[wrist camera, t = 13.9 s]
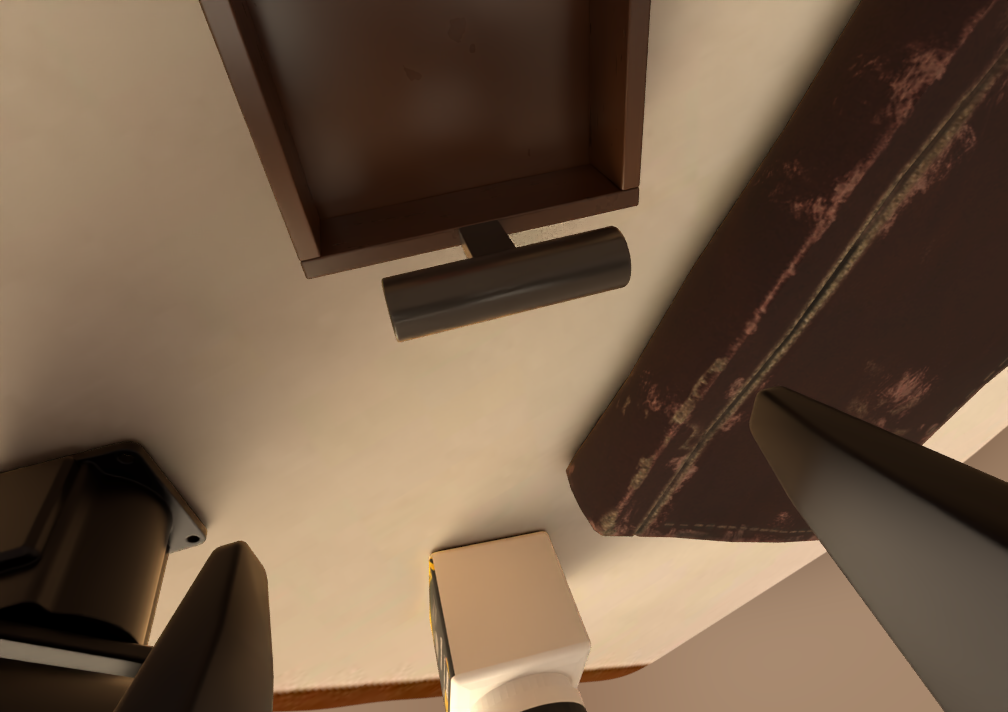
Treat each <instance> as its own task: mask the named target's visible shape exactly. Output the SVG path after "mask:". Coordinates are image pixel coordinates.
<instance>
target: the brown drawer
mask: <svg viewBox="0 0 1008 712" xmlns="http://www.w3.org/2000/svg"><path fill="white" fill-rule="evenodd" d="M199 3H200V5H201V8H202V10H203V13H204V16H205V18H206V21H207V23H208V26H209V29H210V31H211V34H212V36H213V39H214V41H215V44H216V47H217V49H218V52H219V54H220V57H221V60H222V62H223V65H224V67H225V70H226V72H227V75H228V78H229V80H230V83H231V85H232V88H233V91H234V93H235V96H236V98H237V101H238V103H239V106H240V109H241V111H242V114H243V116H244V119H245V121H246V124H247V127H248V129H249V132H250V134H251V137H252V140H253V142H254V145H255V147H256V150H257V152H258V155H259V158H260V160H261V163H262V165H263V168H264V171H265V173H266V176H267V178H268V181H269V183H270V186H271V189H272V191H273V194H274V196H275V199H276V202H277V204H278V207H279V209H280V212H281V214H282V217H283V220H284V222H285V225H286V227H287V230H288V233H289V235H290V238H291V240H292V243H293V245H294V248H295V251H296V253H297V256H298V258H299V260H300V261H301V266H302V268H303V271H304V273H305V276H306V278H307V279H312V278H316V277H320V276H325V275H329V274H334V273H338V272H343V271H347V270H352V269H356V268H361V267H365V266H369V265H374V264H378V263H383V262H387V261H392V260H396V259H401V258H405V257H410V256H414V255H419V254H423V253H427V252H432V251H436V250H441V249H445V248H450V247H454V246H459V245H461V246H462V248H463V250H464V252H465V254H466V256H467V258H468V259H465V260H460V261H456V262H451V263H447V264H443V265H438V266H434V267H430V268H425V269H421V270H416V271H412V272H408V273H403V274H399V275H395V276H390V277H386V278H383V279H382V287H383V292H384V296H385V300H386V304H387V308H388V312H389V315H390V319H391V323H392V326H393V330H394V333H395V336H396V339H397V341H398V342H404V341H408V340H412V339H416V338H420V337H424V336H428V335H432V334H436V333H440V332H444V331H448V330H452V329H456V328H460V327H464V326H468V325H472V324H476V323H481V322H485V321H489V320H493V319H497V318H501V317H505V316H509V315H513V314H517V313H521V312H525V311H529V310H533V309H537V308H541V307H545V306H549V305H553V304H557V303H561V302H565V301H570V300H574V299H578V298H582V297H586V296H590V295H594V294H598V293H602V292H606V291H610V290H614V289H618V288H622V287H625V286H626V285H627V284H628V282H629V280H630V276H631V259H630V253H629V249H628V246H627V243H626V240H625V238H624V236H623V234H622V233H621V231H620V230H619V229H618V228H616V227H614V226H609V227H605V228H600V229H596V230H592V231H587V232H583V233H578V234H574V235H570V236H565V237H561V238H557V239H552V240H548V241H543V242H539V243H535V244H530V245H526V246H522V247H517V248H516V247H515V246H514V244H513V243H512V241H511V239H510V238H509V236H508V234H512V233H517V232H521V231H526V230H530V229H534V228H539V227H543V226H548V225H552V224H557V223H561V222H566V221H570V220H575V219H579V218H584V217H588V216H592V215H597V214H601V213H606V212H610V211H615V210H619V209H624V208H628V207H633V206H637V205H638V202H639V185H640V169H641V152H642V136H643V120H644V103H645V87H646V70H647V54H648V37H649V21H650V5H651V0H199Z"/></svg>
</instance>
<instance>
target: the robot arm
mask: <svg viewBox="0 0 1008 712" xmlns="http://www.w3.org/2000/svg"><path fill="white" fill-rule="evenodd" d="M749 426H750V430H751V433H752V435H753V437H754V439H755V441H756V442H757V444H758V446H759V447H760V449H761V451H762V453H763V454H764V456H765V458H766V459H767V461H768V463H769V465H770V466H771V468H772V470H773V471H774V473H775V475H776V476H777V478H778V480H779V482H780V483H781V485H782V487H783V488H784V490H785V492H786V494H787V495H788V497H789V498H790V500H791V502H792V503H793V505H794V506H795V508H796V509H797V511H798V512H799V513H800V515H801V516H802V518H803V519H804V520H805V522H806V523H807V524H808V526H809V527H810V529H811V530H812V531H813V533H814V534H815V535H816V537H817V538H818V540H819V541H820V542H821V544H822V545H823V546H824V548H825V549H826V550H827V552H828V553H829V555H830V556H831V557H832V559H833V560H834V561H835V563H836V564H837V565H838V567H839V568H840V570H841V571H842V572H843V574H844V575H845V576H846V578H847V579H848V581H849V582H850V583H851V585H852V586H853V587H854V589H855V590H856V591H857V593H858V594H859V596H860V597H861V598H862V600H863V601H864V602H865V604H866V605H867V606H868V608H869V609H870V611H872V613H873V615H874V616H875V617H876V619H877V620H878V621H879V623H880V624H881V625H882V627H883V628H884V630H885V631H886V632H887V633H888V635H889V637H890V638H891V639H892V640H893V642H894V643H895V645H896V646H897V647H898V649H899V650H900V652H901V653H902V654H903V656H904V657H905V658H906V660H907V661H908V662H909V664H910V665H911V667H912V668H913V669H914V671H915V672H916V673H917V675H918V676H919V678H920V679H921V680H922V682H923V683H924V684H925V686H926V687H927V688H928V690H929V691H930V692H931V694H932V695H933V697H934V698H935V699H936V701H937V702H938V703H939V705H940V706H941V708H942V709H943V710H944V712H1008V482H1005V481H1003V480H1000V479H998V478H996V477H994V476H991V475H989V474H987V473H984V472H982V471H980V470H977V469H975V468H972V467H970V466H968V465H966V464H963V463H961V462H959V461H956V460H954V459H952V458H950V457H947V456H945V455H943V454H940V453H938V452H936V451H933V450H931V449H929V448H926V447H924V446H922V445H919V444H917V443H915V442H912V441H910V440H908V439H905V438H903V437H901V436H898V435H896V434H894V433H891V432H889V431H887V430H884V429H882V428H880V427H877V426H875V425H873V424H870V423H868V422H866V421H863V420H861V419H859V418H857V417H854V416H852V415H850V414H847V413H845V412H843V411H840V410H838V409H836V408H833V407H831V406H829V405H826V404H824V403H822V402H819V401H817V400H815V399H812V398H810V397H808V396H805V395H803V394H801V393H798V392H796V391H794V390H791V389H789V388H787V387H784V386H774V387H771V388H768V389H764V390H761V391H759V392H758V394H757V395H756V398H755V402H754V406H753V410H752V413H751V417H750V421H749ZM125 454H130V456H128V455H125ZM206 535H207V529H206V527H205V526H204V525H203V524H202V522H201V521H200V520H199V518H198V517H197V516H196V515H195V513H194V512H193V511H192V509H191V508H190V507H189V506H188V504H187V503H186V502H185V501H184V499H183V498H182V497H181V495H180V494H179V493H178V492H177V490H176V489H175V488H174V487H173V485H172V484H171V483H170V481H169V480H168V479H167V478H166V476H165V475H164V474H163V472H162V471H161V470H160V469H159V467H158V466H157V465H156V464H155V462H154V461H153V460H152V458H151V457H150V456H149V455H148V453H147V452H146V451H145V450H144V448H143V447H142V446H141V445H139V444H137V443H134V442H121V443H117V444H113V445H109V446H105V447H102V448H98V449H94V450H90V451H86V452H82V453H78V454H74V455H70V456H66V457H62V458H58V459H55V460H51V461H47V462H43V463H39V464H35V465H31V466H27V467H23V468H19V469H15V470H11V471H7V472H4V473H0V712H272V708H273V678H274V676H273V655H272V641H271V626H270V611H269V596H268V582H267V575H266V572H265V569H264V567H263V565H262V564H261V563H260V561H259V560H258V558H257V557H256V556H255V554H254V553H253V551H252V550H251V548H250V547H249V546H248V544H247V543H246V542H244V541H237V542H234V543H230V544H227V545H223V546H220V547H218V548H216V549H215V550H214V551H213V552H212V553H211V555H210V557H209V558H208V560H207V561H206V563H205V565H204V566H203V568H202V569H201V571H200V573H199V574H198V576H197V578H196V579H195V581H194V582H193V584H192V586H191V587H190V589H189V590H188V592H187V594H186V595H185V597H184V598H183V600H182V602H181V603H180V605H179V607H178V608H177V610H176V611H175V613H174V615H173V616H172V618H171V619H170V621H169V623H168V624H167V626H166V628H165V629H164V631H163V632H162V634H161V636H160V637H159V639H158V640H157V642H156V644H155V645H154V647H153V646H148V641H149V637H150V633H151V628H152V624H153V620H154V615H155V611H156V607H157V603H158V598H159V594H160V590H161V585H162V581H163V577H164V572H165V568H166V564H167V560H168V555H169V553H173V552H176V551H180V550H183V549H187V548H190V547H194V546H197V545H200V544H202V543H203V542H204V541H205V540H206Z"/></svg>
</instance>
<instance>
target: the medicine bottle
mask: <svg viewBox="0 0 1008 712" xmlns="http://www.w3.org/2000/svg"><path fill="white" fill-rule="evenodd" d="M429 597H430V624H431V629H432V635H433V641H434V647H435V653H436V659H437V665H438V670H439V676H440V682H441V688H442V694H443V700H444V705H445V711H446V712H587V711H586V708H585V705H584V703H583V700H582V697H581V694H580V692H579V691H578V690H577V687H578V684H579V681H580V678H581V675H582V673H583V670H584V667H585V664H586V661H587V658H588V655H589V652H590V650H591V642H590V639H589V637H588V634H587V632H586V629H585V627H584V624H583V621H582V619H581V616H580V614H579V611H578V609H577V606H576V604H575V601H574V599H573V596H572V594H571V591H570V588H569V586H568V583H567V581H566V578H565V576H564V573H563V571H562V568H561V566H560V563H559V560H558V558H557V555H556V553H555V550H554V548H553V545H552V543H551V540H550V538H549V535H548V534H547V533H546V532H544V531H541V532H535V533H530V534H525V535H520V536H515V537H510V538H505V539H500V540H495V541H490V542H485V543H479V544H474V545H469V546H464V547H459V548H454V549H449V550H444V551H439V552H434V553H432V554H431V555H430V557H429Z"/></svg>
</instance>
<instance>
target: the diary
mask: <svg viewBox="0 0 1008 712" xmlns="http://www.w3.org/2000/svg"><path fill="white" fill-rule="evenodd" d="M1007 366H1008V0H862V1H861V2H860V4H859V6H858V7H857V9H856V11H855V12H854V14H853V16H852V17H851V19H850V21H849V22H848V24H847V26H846V27H845V29H844V31H843V32H842V34H841V36H840V37H839V39H838V41H837V42H836V44H835V46H834V47H833V49H832V51H831V52H830V54H829V56H828V57H827V59H826V61H825V62H824V64H823V66H822V67H821V69H820V71H819V72H818V74H817V76H816V77H815V79H814V80H813V82H812V84H811V85H810V87H809V89H808V90H807V92H806V94H805V95H804V97H803V99H802V100H801V102H800V104H799V105H798V107H797V109H796V110H795V112H794V114H793V115H792V117H791V119H790V120H789V122H788V124H787V125H786V127H785V129H784V130H783V132H782V133H781V135H780V136H779V138H778V139H777V141H776V142H775V144H774V145H773V147H772V148H771V150H770V151H769V153H768V154H767V156H766V157H765V159H764V160H763V162H762V163H761V165H760V166H759V168H758V169H757V171H756V173H755V174H754V176H753V177H752V179H751V180H750V182H749V183H748V185H747V186H746V188H745V189H744V191H743V192H742V194H741V195H740V197H739V198H738V200H737V201H736V203H735V204H734V206H733V207H732V209H731V210H730V212H729V213H728V215H727V216H726V218H725V219H724V221H723V222H722V224H721V226H720V227H719V229H718V230H717V232H716V233H715V235H714V236H713V238H712V239H711V241H710V242H709V244H708V245H707V247H706V248H705V250H704V251H703V253H702V254H701V256H700V257H699V259H698V260H697V262H696V263H695V265H694V266H693V268H692V270H691V271H690V273H689V275H688V276H687V278H686V280H685V281H684V283H683V285H682V287H681V288H680V290H679V292H678V293H677V295H676V297H675V298H674V300H673V302H672V304H671V305H670V307H669V309H668V310H667V312H666V314H665V315H664V317H663V319H662V321H661V322H660V324H659V326H658V327H657V329H656V331H655V332H654V334H653V336H652V338H651V339H650V341H649V343H648V344H647V346H646V348H645V349H644V351H643V353H642V355H641V356H640V358H639V360H638V361H637V363H636V365H635V366H634V368H633V370H632V372H631V373H630V375H629V377H628V378H627V380H626V381H625V383H624V384H623V386H622V387H621V388H620V390H619V391H618V393H617V394H616V396H615V397H614V399H613V400H612V402H611V403H610V405H609V406H608V408H607V409H606V410H605V412H604V413H603V415H602V416H601V418H600V419H599V421H598V422H597V424H596V425H595V427H594V428H593V430H592V431H591V432H590V434H589V435H588V437H587V438H586V440H585V441H584V443H583V444H582V446H581V447H580V449H579V450H578V451H577V453H576V454H575V456H574V458H573V459H572V461H571V462H570V464H569V466H568V467H567V469H566V473H567V476H568V480H569V484H570V487H571V490H572V492H573V494H574V496H575V498H576V501H577V503H578V505H579V507H580V509H581V510H582V512H583V513H584V515H585V517H586V518H587V520H588V521H589V523H590V524H591V526H592V527H593V529H594V530H595V531H596V532H598V533H599V534H600V535H602V536H633V535H637V536H639V537H676V538H688V539H701V540H713V541H726V542H775V543H779V542H796V541H813V540H818V538H817V537H816V535H815V534H814V533H813V531H812V530H811V529H810V527H809V526H808V524H807V523H806V522H805V520H804V519H803V518H802V516H801V515H800V513H799V512H798V511H797V509H796V508H795V506H794V505H793V503H792V502H791V500H790V498H789V497H788V495H787V494H786V492H785V490H784V488H783V487H782V485H781V483H780V482H779V480H778V478H777V476H776V475H775V473H774V471H773V470H772V468H771V466H770V465H769V463H768V461H767V459H766V458H765V456H764V454H763V453H762V451H761V449H760V447H759V446H758V444H757V442H756V441H755V439H754V437H753V435H752V433H751V430H750V426H749V421H750V417H751V413H752V410H753V406H754V402H755V398H756V395H757V394H758V392H759V391H761V390H764V389H768V388H771V387H774V386H784V387H787V388H789V389H791V390H794V391H796V392H798V393H801V394H803V395H805V396H808V397H810V398H812V399H815V400H817V401H819V402H822V403H824V404H826V405H829V406H831V407H833V408H836V409H838V410H840V411H843V412H845V413H847V414H850V415H852V416H854V417H857V418H859V419H861V420H863V421H866V422H868V423H870V424H873V425H875V426H877V427H880V428H882V429H884V430H887V431H889V432H891V433H894V434H896V435H898V436H901V437H903V438H905V439H908V440H910V441H912V442H915V443H917V444H919V445H923V444H924V443H925V442H926V441H927V440H928V439H929V438H930V437H931V436H932V435H933V434H934V433H935V432H936V431H937V430H938V429H939V428H940V427H941V426H942V425H943V424H945V423H946V422H947V421H948V420H949V419H950V418H951V417H952V416H953V415H954V414H955V413H956V412H957V411H958V410H959V409H960V408H961V407H962V406H963V405H964V404H965V403H966V402H967V401H968V400H970V399H971V398H972V397H973V396H974V395H975V394H976V393H977V392H978V391H979V390H980V389H981V388H982V387H983V386H984V385H985V384H986V383H988V382H989V381H990V380H991V379H993V378H994V377H995V376H996V375H997V374H999V373H1000V372H1001V371H1002V370H1004V369H1005V368H1006V367H1007Z"/></svg>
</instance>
